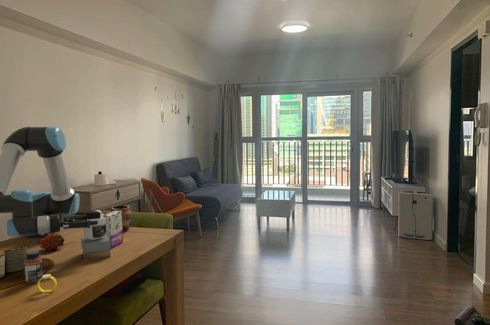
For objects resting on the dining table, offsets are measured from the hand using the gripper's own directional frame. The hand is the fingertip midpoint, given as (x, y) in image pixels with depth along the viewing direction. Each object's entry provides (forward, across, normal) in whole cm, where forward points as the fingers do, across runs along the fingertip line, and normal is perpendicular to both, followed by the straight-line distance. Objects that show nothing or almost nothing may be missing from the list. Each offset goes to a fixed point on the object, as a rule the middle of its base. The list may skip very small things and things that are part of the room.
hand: (104, 218), depth 167 cm
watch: (-22, +34, -17) cm, 44 cm away
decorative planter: (+11, -39, -17) cm, 44 cm away
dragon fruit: (-23, -19, -17) cm, 34 cm away
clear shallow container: (-4, 0, -17) cm, 17 cm away
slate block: (-4, 0, -13) cm, 14 cm away
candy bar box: (+4, -12, -17) cm, 21 cm away
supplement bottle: (-27, +22, -17) cm, 38 cm away
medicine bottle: (-4, 0, -8) cm, 9 cm away
